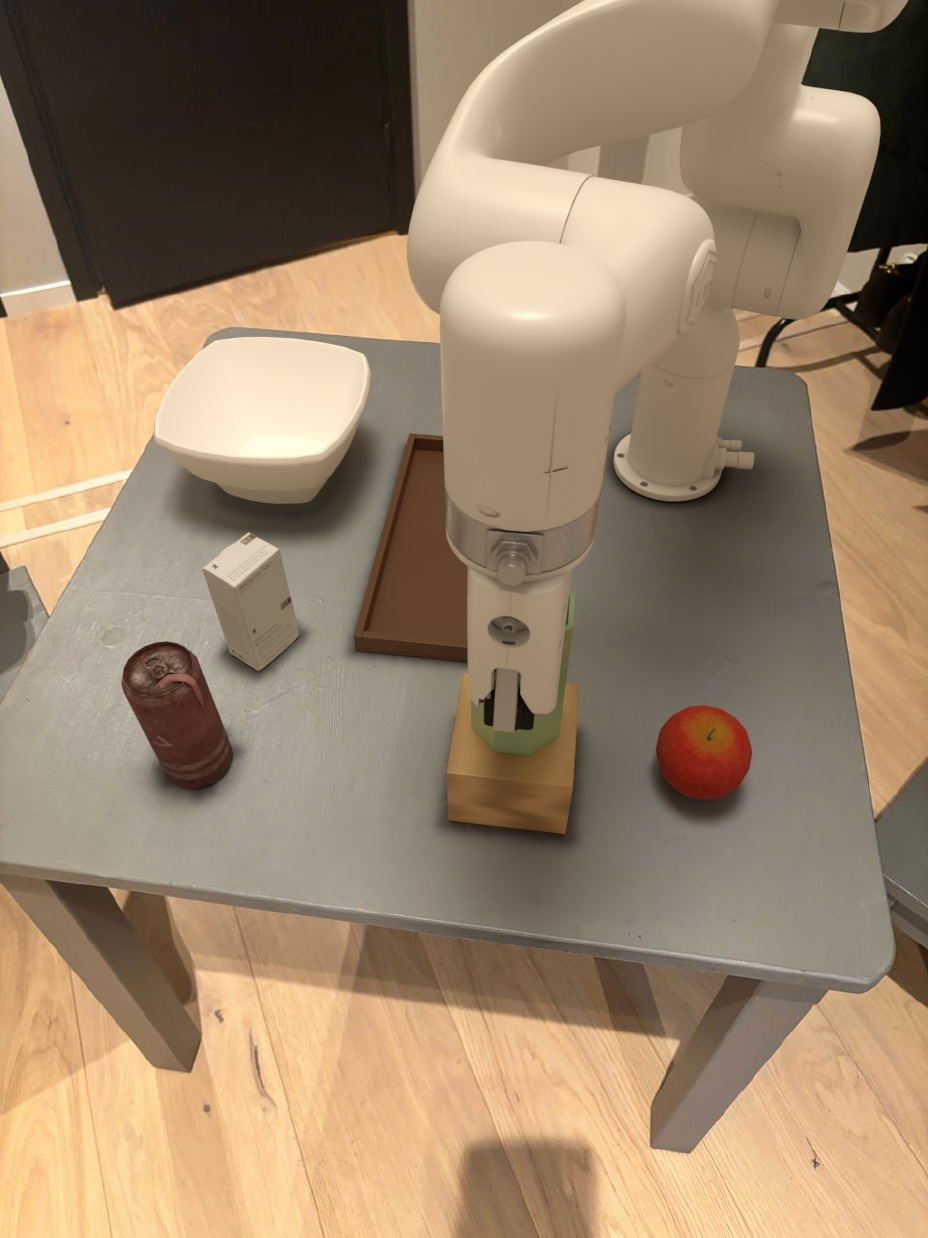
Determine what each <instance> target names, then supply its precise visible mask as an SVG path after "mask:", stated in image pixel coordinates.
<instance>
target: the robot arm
mask: <svg viewBox="0 0 928 1238" xmlns="http://www.w3.org/2000/svg"><path fill="white" fill-rule="evenodd" d="M908 2H909V0H583V1H581V2H579V3H577V4H575V5H574V6H572V7H570V8H568V9H567V10H565V11H564V12H562V13H560V14H559V15H557V16H556V17H554V18H552V19H551V20H549V21H548V22H546V23H544V24H543V25H541V26H539V28H537V29H535V30H534V31H532V32H531V33H529V34H527V35H525V36H524V37H523V38H521V39H519V40H518V41H516V42H515V43H513V44H512V45H511V46H510V47H508V48H507V49H505V50H504V51H502V52H501V53H499V54H498V55H497V56H496V57H495V58H494V59H493V60H492V61H491V62H490V63H488V65H486V66H485V67H484V68H483V69H482V71H480V73H479V74H478V75H477V76H476V78H475V79H474V80H473V81H472V82H471V83H470V84H469V86H468V88H467V90H466V91H465V93H464V94H463V96H462V97H461V99H460V100H459V103H458V104H457V106H456V109H455V111H454V112H453V115H452V117H451V118H450V121H449V122H448V125H447V127H446V129H445V131H444V133H443V135H442V137H441V139H440V141H439V143H438V145H437V147H436V149H435V151H434V154H433V155H432V158H431V160H430V162H429V164H428V168H427V169H426V172H425V174H424V177H423V179H422V181H421V184H420V187H419V190H418V192H417V195H416V199H415V202H414V204H413V210H412V213H411V217H410V220H409V221H410V222H409V226H408V233H407V243H406V261H407V268H408V274H409V278H410V283H411V284H412V286H413V288H414V291H415V293H416V295H417V296H418V297H419V299H420V300H421V301H422V302H423V304H424V305H425V306H426V307H427V308H428V309H429V310H431V311H433V312H434V313H435V314H437V315H439V351H440V352H439V353H440V380H441V409H442V411H441V412H442V436H443V446H444V476H445V483H444V485H445V517H446V536H447V540H448V543H449V545H450V547H451V549H452V551H453V552H454V553H455V555H456V556H457V557H458V558H459V559H460V560H461V561H462V562H463V563H464V564H466V565H467V566H468V583H467V646H468V662H467V673H468V682H469V694H470V698H471V700H472V701H473V702H474V703H475V704H476V705H477V706H478V707H479V706H480V703H483V704H484V724H485V725H487V726H493V731H495V732H504V733H514V731H515V730H518V729H521V730H531V729H533V727H534V717H535V714H549V713H550V712H551V711H552V710H553V709H554V708H555V707H556V702H557V695H558V685H559V676H560V668H561V659H562V651H563V643H564V635H565V627H566V619H567V611H568V602H569V593H570V590H571V582H572V571H573V569H574V568H576V567H577V566H578V565H580V564H581V563H582V562H583V561H584V559H586V557H587V556H588V554H589V553H590V552H591V550H592V547H593V544H594V541H595V537H596V536H595V534H596V528H597V522H598V515H599V508H600V500H601V494H602V487H603V480H604V475H605V473H604V472H605V466H606V460H607V452H608V445H609V440H610V439H609V438H610V431H611V422H612V414H613V406H614V401H615V398H616V396H617V393H619V392H620V391H622V389H623V388H624V387H625V386H626V385H627V384H628V383H630V381H632V379H634V378H635V377H636V376H637V375H638V374H639V373H640V377H639V383H638V389H637V395H636V401H635V407H634V414H633V419H632V425H631V426H632V427H631V431H630V433H629V434H627V435H626V436H624V437H623V438H622V439H621V440H620V441H619V442H618V444H617V446H616V447H615V450H614V454H613V461H612V462H613V463H612V464H613V469H614V471H615V474H616V476H617V477H618V478H619V480H620V481H621V482H622V483H623V484H624V485H625V486H626V487H627V488H629V489H630V490H632V491H633V492H635V493H637V494H639V495H641V496H644V497H646V498H649V499H653V500H657V501H664V502H686V501H691V500H694V499H698V498H700V497H703V496H705V495H707V494H708V493H710V492H711V491H712V490H713V489H714V488H715V487H716V486H717V485H718V483H719V481H720V479H721V476H722V472H723V470H724V469H725V468H735V469H741V470H753V468H754V463H755V452H752V451H751V452H750V451H741V450H742V446H743V444H742V443H743V441H742V440H737V439H722V437H721V436H718V433H719V429H720V425H721V421H722V417H723V414H724V410H725V405H726V401H727V397H728V394H729V390H730V386H731V382H732V378H733V374H734V371H735V366H736V363H737V359H738V355H739V351H740V344H741V336H740V335H741V334H740V329H739V328H740V327H739V325H738V324H739V323H738V321H737V317H736V315H735V312H734V310H733V309H735V310H739V311H740V310H741V311H745V312H749V313H754V314H759V315H763V316H764V315H765V316H769V317H774V318H779V319H785V320H786V319H788V320H807V319H809V318H812V317H814V316H816V315H817V314H819V312H821V311H822V310H823V309H824V307H825V306H826V304H827V303H828V301H829V300H830V298H831V296H832V294H833V292H834V290H835V288H836V285H837V283H838V280H839V277H840V274H841V271H842V269H843V265H844V263H845V259H846V257H847V253H848V250H849V247H850V243H851V240H852V238H853V235H854V231H855V228H856V225H857V221H858V219H859V216H860V214H861V210H862V207H863V204H864V200H865V197H866V194H867V191H868V188H869V186H870V182H871V179H872V175H873V172H874V168H875V165H876V161H877V156H878V151H879V147H880V138H881V118H880V115H879V111H878V109H877V107H876V106H875V105H874V103H872V102H871V100H869V99H868V98H867V97H864V96H862V95H860V94H856V93H854V92H849V91H843V90H842V91H841V90H836V89H830V88H822V87H815V86H808V85H803V84H802V83H800V82H799V77H800V72H801V68H802V63H803V60H804V54H805V51H806V47H807V42H808V38H809V33H810V27H811V28H816V29H827V30H834V31H840V32H848V33H849V32H850V33H866V34H867V33H868V34H869V33H875V32H879V31H881V30H883V29H884V28H886V27H887V26H889V25H890V24H891V23H892V22H893V21H894V20H895V19H896V18H898V16H899V15H900V13H901V12H902V10H903V9H904V8H905V6H906V5H907V3H908ZM678 128H681V136H680V145H679V146H680V147H679V170H680V178H681V181H682V183H683V185H684V187H685V188H686V189H687V191H688V192H690V193H688V194H682V193H679V192H676V191H674V190H670V189H666V188H662V187H657V186H653V185H646V184H641V183H635V182H629V181H623V180H618V179H611V178H605V177H599V176H595V175H594V174H591V173H585V172H578V171H573V170H568V169H561V168H556V167H549V166H546V165H548V164H550V163H552V162H555V161H556V160H558V159H560V158H563V157H565V156H568V155H571V154H574V153H576V152H580V151H583V150H588V149H591V148H595V147H601V146H604V145H610V144H615V143H621V142H626V141H629V140H630V141H631V140H635V139H640V138H644V137H648V136H653V135H656V134H660V133H663V132H667V131H670V130H675V129H678Z"/></svg>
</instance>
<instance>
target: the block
mask: <svg viewBox="0 0 928 1238" xmlns="http://www.w3.org/2000/svg"><path fill="white" fill-rule="evenodd" d="M461 676H462V677H461V682H460V688H459V695H458V701H457V706H456V713H455V720H454V724H453V730H452V736H451V742H450V748H449V754H448V760H447V766H446V772H445V775H446V795H447V815H448V821H449V822H450V821H451V822H459V823H467V824H475V825H485V826H493V827H499V828H500V827H501V828H502V827H503V828H510V829H518V830H527V831H535V832H544V833H553V834H560V835H566V831H567V825H568V819H569V813H570V807H571V802H572V796H573V790H574V779H575V762H576V748H577V747H576V746H577V745H576V744H577V732H578V731H577V730H578V715H579V699H580V698H579V697H580V684H579V683H569V682H566V686H565V694H564V701H563V709H562V717H561V724H560V732H559V737H557V738H556V739H554V740H553V741H551V742H550V743H548V744H547V745H545V746H544V747H543V748H541V749H540V750H538V751H537V752H535V753H534V754H532V755H531V756H530V755H521V754H512V753H502V752H494V751H493V750H492V749H491V748H490V747H489V746H488V745H487V744H486V742H485V741H484V740H483V739H482V738H481V737H480V736H479V735H478V734H477V733H476V732H475V731H474V729H473V728H472V727H471V698H470V694H469V682H468V672H463V673H462V675H461Z"/></svg>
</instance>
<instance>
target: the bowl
mask: <svg viewBox="0 0 928 1238" xmlns="http://www.w3.org/2000/svg"><path fill="white" fill-rule="evenodd" d="M371 372H372V371H371V369H370V365H369V361H368V358H367V356H366V355H365V354H363V353H362V352H359V351H357V350H354V349H351V348H349V347H346V346H342V345H338V344H332V343H327V342H323V341H315V340H309V339H302V338H293V337H292V338H291V337H272V336H241V337H240V336H239V337H233V338H222V339H217V340H214V341H213V342H211V343H210V344H208V345H206V346H205V347H204V348H203V349H201V350H200V351H198V352H197V353H196V354H195V355H194V356H193V357H192V358H191V359H190V360H189V362H187V363H186V365H185V366H183V368H182V369H181V370H180V371H179V373H178V374H177V376H175V378H174V379H173V380H172V382H171V383H170V385H169V387H168V388H167V390H166V392H165V394H164V396H163V398H162V400H161V402H160V405H159V408H158V411H157V413H156V416H155V419H154V422H153V440H154V444H155V445H156V446H158V447H159V448H160V449H161V450H163V451H164V452H165V453H166V454H168V456H170V457H171V458H172V459H174V460H175V461H176V462H177V463H178V464H179V465H181V466H182V467H184V468H185V469H186V470H187V471H188V472H189V473H191V474H192V475H194V476H196V477H198V478H200V479H202V480H205V481H208V482H211V483H215V484H216V485H218V486H219V487H220V488H221V489H222V490H223V491H224V492H225V493H226V494H229V495H231V496H233V497H237V498H241V499H243V500H244V499H245V500H248V501H251V502H257V503H264V504H276V505H281V504H282V505H283V504H284V505H285V504H286V505H287V504H305V503H309V502H311V501H313V499H315V498H316V497H317V495H318V494H319V492H321V489H323V487H324V485H325V484H327V481H328V479H329V478H330V477H331V476H332V475H333V474H334V472H335V471H336V469H337V468H338V467H339V465H340V464H341V462H342V461H343V459H344V458H345V456H346V454H347V452H348V450H349V449H350V446H351V444H352V441H353V439H354V436H355V435H356V432H357V429H358V427H359V424H360V422H361V419H362V418H363V415H364V413H365V410H366V407H367V403H368V398H369V396H370V391H371V382H372V373H371Z"/></svg>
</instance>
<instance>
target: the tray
mask: <svg viewBox="0 0 928 1238" xmlns="http://www.w3.org/2000/svg"><path fill="white" fill-rule="evenodd" d="M444 483H445V476H444V446H443V435H435V434H423V433H408V437H407V440H406V444H405V447H404V451H403V455H402V459H401V462H400V465H399V470H398V473H397V477H396V482H395V484H394V488H393V491H392V495H391V498H390V502H389V506H388V509H387V513H386V515H385V516H386V517H385V521H384V524H383V528H382V531H381V534H380V538H379V543H378V546H377V550H376V553H375V555H374V559H373V563H372V568H371V571H370V575H369V579H368V582H367V586H366V589H365V592H364V597H363V601H362V603H361V609H360V611H359V614H358V618H357V622H356V626H355V630H354V633H353V640H354V646H355V651H357V652H367V653H376V654H387V655H395V656H396V655H397V656H407V657H418V658H426V659H436V660H445V661H446V660H447V661H456V662H466V663H468V646H467V583H468V566H467V565H466V564H464V563H463V562H462V561H461V560H460V559H459V558H458V557H457V556H456V555H455V553H454V552H453V551H452V549H451V547H450V545H449V543H448V540H447V536H446V517H445V485H444Z"/></svg>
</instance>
